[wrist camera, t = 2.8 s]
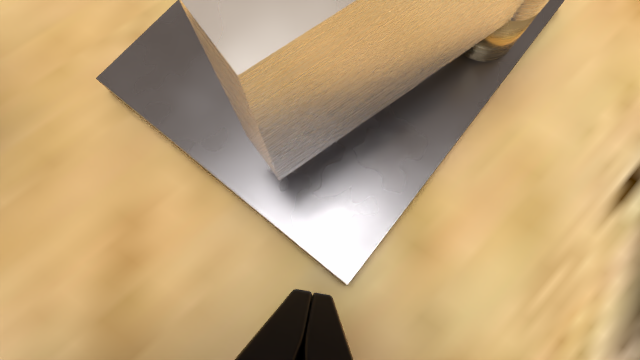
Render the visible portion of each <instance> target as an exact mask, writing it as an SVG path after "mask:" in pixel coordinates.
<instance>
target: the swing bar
mask: <svg viewBox="0 0 640 360" xmlns="http://www.w3.org/2000/svg"><path fill="white" fill-rule="evenodd" d="M179 1H180V3H181V5H182V7H183V9H184V11H185V13H186V15H187V17H188V19H189V21H190V23H191V25H192V27H193V29H194V31H195V33H196V35H197V37H198V39H199V41H200V43H201V45H202V47H203V49H204V51H205V53H206V55H207V57H208V59H209V61H210V63H211V65H212V67H213V69H214V71H215V73H216V75H217V77H218V79H219V81H220V83H221V85H222V87H223V89H224V91H225V93H226V95H227V97H228V99H229V101H230V103H231V105H232V107H233V109H234V111H235V113H236V115H237V117H238V119H239V121H240V123H241V125H242V127H243V129H244V131H245V133H246V135H247V137H248V138H249V140H250V141H251V142H252V144H253V145H254V146H255V148H256V149H257V151H258V152H259V153H260V155H261V156H262V157H263V159H264V160H265V161H266V163H267V164H268V166H269V167H270V168H271V170H272V171H273V172H274V174H275V175H276V177H277V178H278V179H279V181H280V180H281V179H283V178H284V177H286V176H287V175H289V174H290V173H291V172H293V171H294V170H296V169H297V168H299V167H300V166H302V165H303V164H304V163H306V162H307V161H309V160H310V159H312V158H313V157H314V156H316V155H317V154H319V153H320V152H322V151H323V150H325V149H326V148H327V147H329V146H330V145H332V144H333V143H335V142H336V141H337V140H339V139H340V138H342V137H343V136H345V135H346V134H348V133H349V132H350V131H352V130H353V129H355V128H356V127H358V126H359V125H361V124H362V123H363V122H365V121H366V120H368V119H369V118H371V117H372V116H373V115H375V114H376V113H378V112H379V111H381V110H382V109H384V108H385V107H386V106H388V105H389V104H391V103H392V102H394V101H395V100H397V99H398V98H399V97H401V96H402V95H404V94H405V93H407V92H408V91H409V90H411V89H412V88H414V87H415V86H417V85H418V84H420V83H421V82H422V81H424V80H425V79H427V78H428V77H430V76H431V75H432V74H434V73H435V72H437V71H438V70H440V69H441V68H443V67H444V66H445V65H447V64H448V63H450V62H451V61H453V60H454V59H456V58H457V57H458V56H460V55H461V54H463V53H464V52H466V51H467V50H468V49H470V48H471V47H473V46H474V45H476V44H477V43H479V42H480V41H481V40H483V39H484V38H486V37H487V36H489V35H490V34H492V33H493V32H494V31H496V30H497V29H499V28H500V27H502V26H503V25H504V24H506V23H507V22H509V21H523V20H527V19H529V18H532V17H534V16H535V15H537V14H538V13H539V12H540V11H541V10H542V9H543V8H544V6H545V5H546V4H547V3H548V1H549V0H179Z"/></svg>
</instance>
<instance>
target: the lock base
mask: <svg viewBox="0 0 640 360" xmlns="http://www.w3.org/2000/svg"><path fill="white" fill-rule="evenodd" d="M563 2H564V0H549V1H548V3H547V4H546V5H545V6H544V8H543V9H542V10H541V11H540V12H539V13H538V14H537V15H535V16H534V17H532V18H529V19H527V20H523V21H509V22H507V23H506V24H504V25H503V26H502V27H500V28H499V29H497V30H496V31H494V32H493V33H492V34H490V35H489V36H487V37H486V38H484V39H483V40H481V41H480V42H479V43H477V44H476V45H474V46H473V47H471V48H470V49H468V50H467V51H466V52H464V53H463V54H461V55H460V56H458V57H457V58H456V59H454V60H453V61H451V62H450V63H448V64H447V65H445V66H444V67H443V68H441V69H440V70H438V71H437V72H435V73H434V74H432V75H431V76H430V77H428V78H427V79H425V80H424V81H422V82H421V83H420V84H418V85H417V86H415V87H414V88H412V89H411V90H409V91H408V92H407V93H405V94H404V95H402V96H401V97H399V98H398V99H397V100H395V101H394V102H392V103H391V104H389V105H388V106H386V107H385V108H384V109H382V110H381V111H379V112H378V113H376V114H375V115H373V116H372V117H371V118H369V119H368V120H366V121H365V122H363V123H362V124H361V125H359V126H358V127H356V128H355V129H353V130H352V131H350V132H349V133H348V134H346V135H345V136H343V137H342V138H340V139H339V140H337V141H336V142H335V143H333V144H332V145H330V146H329V147H327V148H326V149H325V150H323V151H322V152H320V153H319V154H317V155H316V156H314V157H313V158H312V159H310V160H309V161H307V162H306V163H304V164H303V165H302V166H300V167H299V168H297V169H296V170H294V171H293V172H291V173H290V174H289V175H287V176H286V177H284V178H283V179H281V180H280V181H279V179H278V178H277V177H276V175H275V174H274V172H273V171H272V170H271V168H270V167H269V166H268V164H267V163H266V161H265V160H264V159H263V157H262V156H261V155H260V153H259V152H258V151H257V149H256V148H255V146H254V145H253V144H252V142H251V141H250V140H249V138H248V137H247V135H246V133H245V131H244V129H243V127H242V125H241V123H240V121H239V119H238V117H237V115H236V113H235V111H234V109H233V107H232V105H231V103H230V101H229V99H228V97H227V95H226V93H225V91H224V89H223V87H222V85H221V83H220V81H219V79H218V77H217V75H216V73H215V71H214V69H213V67H212V65H211V63H210V61H209V59H208V57H207V55H206V53H205V51H204V49H203V47H202V45H201V43H200V41H199V39H198V37H197V35H196V33H195V31H194V29H193V27H192V25H191V23H190V21H189V19H188V17H187V15H186V13H185V11H184V9H183V7H182V5H181V3H180V1H179V0H178V1H177V2H176V3H174V4H173V5H172V6H171V7H170V8H169V9H168V10H167V11H166V12H165V13H164V14H163V15H162V16H161V17H160V18H159V19H158V20H157V21H156V22H155V23H153V24H152V25H151V26H150V27H149V28H148V29H147V30H146V31H145V32H144V33H143V34H142V35H141V36H140V37H139V38H138V39H137V40H136V41H135V42H134V43H133V44H131V45H130V46H129V47H128V48H127V49H126V50H125V51H124V52H123V53H122V54H121V55H120V56H119V57H118V58H117V59H116V60H115V61H114V62H113V63H112V64H111V65H109V66H108V67H107V68H106V69H105V70H104V71H103V72H102V73H101V74H100V75H99V76H98V77H97V78H96V79H97V80H98V81H99V82H100V83H102V84H103V85H104V86H105V87H106V88H107V89H108V90H109V91H110V92H112V93H113V94H114V95H115V96H116V97H118V98H119V99H120V100H121V101H122V102H124V103H125V104H126V105H127V106H129V107H130V108H131V109H132V110H133V111H135V112H136V113H137V114H138V115H139V116H141V117H142V118H143V119H144V120H146V121H147V122H148V123H149V124H150V125H152V126H153V127H154V128H155V129H157V130H158V131H159V132H160V133H161V134H163V135H164V136H165V137H166V138H167V139H169V140H170V141H171V142H172V143H174V144H175V145H176V146H177V147H178V148H180V149H181V150H182V151H183V152H185V153H186V154H187V155H188V156H189V157H191V158H192V159H193V160H194V161H195V162H197V163H198V164H199V165H200V166H202V167H203V168H204V169H205V170H206V171H208V172H209V173H210V174H211V175H213V176H214V177H215V178H216V179H217V180H219V181H220V182H221V183H222V184H223V185H225V186H226V187H227V188H228V189H230V190H231V191H232V192H233V193H234V194H236V195H237V196H238V197H239V198H240V199H242V200H243V201H244V202H245V203H247V204H248V205H249V206H250V207H251V208H253V209H254V210H255V211H256V212H258V213H259V214H260V215H261V216H262V217H264V218H265V219H266V220H267V221H268V222H270V223H271V224H272V225H273V226H275V227H276V228H277V229H278V230H279V231H281V232H282V233H283V234H284V235H286V236H287V237H288V238H289V239H290V240H292V241H293V242H294V243H295V244H296V245H298V246H299V247H300V248H301V249H303V250H304V251H305V252H306V253H307V254H309V255H310V256H311V257H312V258H313V259H315V260H316V261H317V262H318V263H320V264H321V265H322V266H323V267H324V268H326V269H327V270H328V271H329V272H331V273H332V274H333V275H334V276H335V277H337V278H338V279H339V280H340V281H341V282H343V283H344V284H345V285H348V284H349V282H350V281H351V280H352V278H353V277H354V276H355V274H356V273H357V272H358V271H359V269H360V268H361V267H362V265H363V264H364V263H365V261H366V260H367V259H368V257H369V256H370V255H371V253H372V252H373V251H374V250H375V248H376V247H377V246H378V244H379V243H380V242H381V240H382V239H383V238H384V236H385V235H386V234H387V232H388V231H389V230H390V229H391V227H392V226H393V225H394V223H395V222H396V221H397V219H398V218H399V217H400V215H401V214H402V213H403V211H404V210H405V209H406V208H407V206H408V205H409V204H410V202H411V201H412V200H413V198H414V197H415V196H416V194H417V193H418V192H419V190H420V189H421V188H422V187H423V185H424V184H425V183H426V181H427V180H428V179H429V177H430V176H431V175H432V173H433V172H434V171H435V170H436V168H437V167H438V166H439V164H440V163H441V162H442V160H443V159H444V158H445V156H446V155H447V154H448V152H449V151H450V150H451V149H452V147H453V146H454V145H455V143H456V142H457V141H458V139H459V138H460V137H461V135H462V134H463V133H464V131H465V130H466V129H467V128H468V126H469V125H470V124H471V122H472V121H473V120H474V118H475V117H476V116H477V114H478V113H479V112H480V110H481V109H482V108H483V107H484V105H485V104H486V103H487V101H488V100H489V99H490V97H491V96H492V95H493V93H494V92H495V91H496V89H497V88H498V87H499V86H500V84H501V83H502V82H503V80H504V79H505V78H506V76H507V75H508V74H509V72H510V71H511V70H512V68H513V67H514V66H515V65H516V63H517V62H518V61H519V59H520V58H521V57H522V55H523V54H524V53H525V51H526V50H527V49H528V47H529V46H530V45H531V44H532V42H533V41H534V40H535V38H536V37H537V36H538V34H539V33H540V32H541V30H542V29H543V28H544V26H545V25H546V24H547V23H548V21H549V20H550V19H551V17H552V16H553V15H554V13H555V12H556V11H557V9H558V8H559V7H560V5H561V4H562V3H563Z"/></svg>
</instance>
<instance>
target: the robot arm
mask: <svg viewBox="0 0 640 360" xmlns="http://www.w3.org/2000/svg"><path fill="white" fill-rule="evenodd" d="M235 360H353V357H352V354H351V351H350V348H349V345H348V342H347V339H346V336H345V333H344V331H343V328H342V325H341V322H340V319H339V316H338V313H337V310H336V307H335V304H334V301H333V298H332V297H331V296H330V295H326V294H320V293H314V294H313V296H312V293H311V292H309V291H304V290H298V289H295V290H293V291H292V292H291V293H290V294H289V296H288V297H287V298H286V299H285V300H284V302H283V303H282V304H281V305H280V306H279V308H278V309H277V310H276V311H275V312H274V313H273V315H272V316H271V317H270V318H269V319H268V321H267V322H266V323H265V324H264V325H263V327H262V328H261V329H260V330H259V331H258V333H257V334H256V335H255V336H254V337H253V339H252V340H251V341H250V342H249V343H248V344H247V346H246V347H245V348H244V349H243V350H242V352H241V353H240V354H239V355H238V356H237V358H236V359H235Z"/></svg>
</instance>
